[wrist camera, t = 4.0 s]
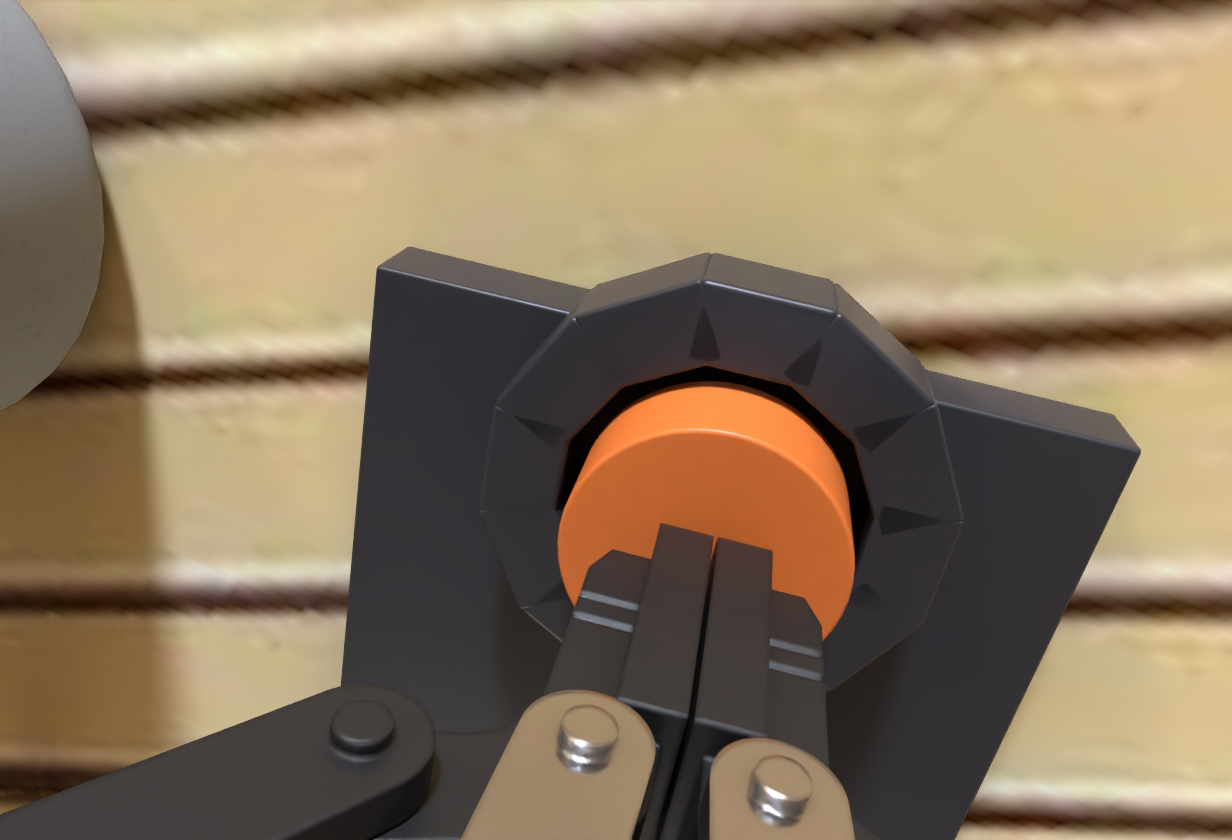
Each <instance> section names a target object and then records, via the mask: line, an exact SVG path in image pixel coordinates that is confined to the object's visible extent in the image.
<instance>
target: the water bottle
mask: <svg viewBox="0 0 1232 840" xmlns="http://www.w3.org/2000/svg"><path fill="white" fill-rule="evenodd" d="M104 238H105V235H104V219H103V202H102V186H101V182H100V177H99V173H98V169H97V165H96V161H95V156H94V152H93V148H92V144H91V139H90V135H89V131H88V129H87V126H86V124H85V121H84V119H83V116H82V114H81V112H80V109H79V107H78V104H77V102H76V99H75V97H74V94H73V92H72V90H71V87H70V85H69V82H68V80H67V77H66V75H65V73H64V72H63V70H62V68H61V67H60V65H59V63H58V62H57V60H56V58H55V57H54V55H53V53H52V51H51V50H50V48H49V46H48V45H47V43H46V41H45V40H44V38H43V36H42V35H41V33H40V31H39V30H38V28H37V26H36V24H35V23H34V21H33V20H32V19H31V17H30V16H29V15H28V14H27V12H26V11H25V10H24V9H23V8H22V6H21V5H20V4H19V3H18V1H17V0H0V410H2V409H4V408H6V407H8V406H10V405H12V404H14V403H16V402H18V401H19V400H20V399H21V398H23V397H24V396H25V395H26V394H28V393H29V392H30V391H31V390H32V389H34V388H35V387H36V386H37V385H38V384H40V383H41V382H42V381H43V380H44V379H46V378H47V377H48V376H49V375H50V374H51V373H52V372H53V371H54V370H55V369H56V368H57V367H58V366H59V364H60V363H61V361H62V360H63V359H64V357H65V356H66V354H67V353H68V351H69V350H70V349H71V347H72V346H73V344H74V343H75V341H76V340H77V338H78V337H79V336H80V334H81V332H82V329H83V326H84V324H85V321H86V318H87V316H88V313H89V310H90V307H91V305H92V302H93V299H94V297H95V294H96V291H97V287H98V282H99V275H100V268H101V260H102V253H103V245H104Z"/></svg>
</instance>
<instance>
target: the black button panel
mask: <svg viewBox="0 0 1232 840" xmlns="http://www.w3.org/2000/svg"><path fill="white" fill-rule="evenodd" d="M700 381H716V382H728V383H734V384H739V385H745V386H748V387H751V388H754V389H758V390H761V391H763V392H766V393H768V394H770V395H772V396H775V397H777V398H779V399H781V400H782V401H784V402H786V403H787V404H789V405H791V406H792V407H794V408H795V409H797V410H798V411H799V412H800V413H802V414H803V415H804V416H805V417H807V418H808V419H809V420H810V421H811V422H812V423H813V424H814V425H815V426H816V427H817V428H818V429H819V430H820V431H821V433H822V434H823V435H824V437H825V438H826V440H827V441H828V442H829V444H830V445H831V446H832V448H833V450H834V452H835V454H836V456H837V458H838V460H839V462H840V464H841V467H842V470H843V473H844V476H845V480H846V485H847V490H848V496H849V506H850V515H851V524H852V533H853V542H854V554H855V573H854V582H853V587H852V590H851V594H850V598H849V601H848V603H847V605H846V608H845V610H844V612H843V614H842V616H841V618H840V619H839V621H838V623H837V624H836V626H835V627H834V629H833V630H832V631H831V633H830V634H829V635H828V636H827V637H826V638H825V639H824V641H823V657H822V659H824V681H823V682H824V683H825V697H826V717H827V737H828V757H829V769H830V771H831V772H832V773H833V774H834V775H835V776H836V777H837V779H838V780H839V782H840V783H841V785H842V786H843V789H844V791H845V793H846V795H847V798H848V802H849V806H850V812H851V815H852V816H853V817H854V818H855V819H856V820H857V821H858V822H859V823H860V824H861V825H862V826H863V827H864V828H865V829H867V830H868V831H869V832H871V833H872V834H873V835H875V836H876V837H877V838H879V839H880V840H955V838H956V836H957V834H958V832H959V830H960V827H961V825H962V823H963V821H964V819H965V817H966V815H967V813H968V811H969V809H970V807H971V805H972V803H973V800H974V798H975V796H976V794H977V792H978V790H979V788H980V786H981V784H982V782H983V780H984V778H985V776H986V773H987V771H988V769H989V767H990V765H991V763H992V761H993V759H994V757H995V755H996V753H997V751H998V749H999V746H1000V744H1001V742H1002V740H1003V738H1004V736H1005V734H1006V732H1007V730H1008V728H1009V726H1010V724H1011V722H1012V719H1013V717H1014V715H1015V713H1016V711H1017V709H1018V707H1019V705H1020V703H1021V701H1022V699H1023V697H1024V695H1025V692H1026V690H1027V688H1028V686H1029V684H1030V682H1031V680H1032V678H1033V676H1034V674H1035V672H1036V670H1037V668H1038V665H1039V663H1040V661H1041V659H1042V657H1043V655H1044V653H1045V651H1046V649H1047V647H1048V645H1049V643H1050V641H1051V638H1052V636H1053V634H1054V632H1055V630H1056V628H1057V626H1058V624H1059V622H1060V620H1061V618H1062V616H1063V614H1064V611H1065V609H1066V607H1067V605H1068V603H1069V601H1070V599H1071V597H1072V595H1073V593H1074V591H1075V589H1076V587H1077V584H1078V582H1079V580H1080V578H1081V576H1082V574H1083V572H1084V570H1085V568H1086V566H1087V564H1088V562H1089V560H1090V557H1091V555H1092V553H1093V551H1094V549H1095V547H1096V545H1097V543H1098V541H1099V539H1100V537H1101V535H1102V533H1103V531H1104V528H1105V526H1106V524H1107V522H1108V520H1109V518H1110V516H1111V514H1112V512H1113V510H1114V508H1115V506H1116V504H1117V501H1118V499H1119V497H1120V495H1121V493H1122V491H1123V489H1124V487H1125V485H1126V483H1127V481H1128V479H1129V477H1130V474H1131V472H1132V470H1133V468H1134V466H1135V464H1136V462H1137V460H1138V458H1139V456H1140V453H1141V450H1140V448H1139V447H1138V446H1137V444H1136V443H1135V442H1134V440H1133V439H1132V438H1131V437H1130V435H1129V434H1128V433H1127V431H1126V430H1125V429H1124V427H1123V426H1122V425H1121V423H1120V422H1119V421H1118V420H1117V418H1116V417H1115V416H1114V415H1112V414H1108V413H1104V412H1099V411H1095V410H1091V409H1087V408H1083V407H1079V406H1074V405H1070V404H1066V403H1062V402H1058V401H1053V400H1049V399H1045V398H1041V397H1037V396H1032V395H1028V394H1024V393H1020V392H1016V391H1012V390H1007V389H1003V388H999V387H995V386H991V385H986V384H982V383H978V382H974V381H970V380H965V379H961V378H957V377H953V376H949V375H945V374H940V373H936V372H932V371H928V370H925V368H924V367H923V366H922V365H921V363H920V361H919V360H918V359H917V358H916V357H915V356H914V355H913V354H912V353H911V352H910V351H908V350H907V349H906V348H905V347H904V346H903V345H902V344H901V343H900V342H899V341H898V340H897V339H896V338H895V337H894V336H893V335H892V334H891V333H889V332H888V331H887V330H886V329H885V328H884V327H883V326H882V325H881V324H880V323H879V322H878V321H877V320H876V319H875V318H874V317H873V316H872V315H870V314H869V313H868V312H867V311H866V310H865V309H864V308H863V307H862V306H861V305H860V304H859V303H858V302H857V301H856V300H855V299H854V298H853V297H851V296H850V295H849V294H848V293H847V292H846V291H845V290H844V289H843V288H842V287H841V286H840V285H838V284H836V283H834V284H833V282H832V281H830V280H829V279H825V278H820V277H816V276H812V275H808V274H803V273H799V272H795V271H791V270H786V269H782V268H778V267H773V266H769V265H765V264H761V263H756V262H752V261H748V260H743V259H739V258H735V257H731V256H726V255H722V254H718V253H714V254H710V253H704V254H700V255H697V256H694V257H690V258H687V259H683V260H680V261H677V262H673V263H670V264H666V265H663V266H660V267H656V268H653V269H649V270H646V271H643V272H639V273H636V274H632V275H629V276H626V277H622V278H619V279H616V280H612V281H609V282H605V283H602V284H599V285H597V286H596V287H595V288H593V289H591V290H589V289H585V288H580V287H576V286H572V285H568V284H564V283H559V282H555V281H551V280H547V279H543V278H539V277H534V276H530V275H526V274H522V273H518V272H513V271H509V270H505V269H501V268H497V267H492V266H488V265H484V264H480V263H476V262H472V261H467V260H463V259H459V258H455V257H451V256H446V255H442V254H438V253H434V252H430V251H425V250H421V249H417V248H413V247H407V248H406V249H404V250H402V251H401V252H399V253H398V254H396V255H395V256H393V257H392V258H390V259H388V260H387V261H385V262H384V263H382V264H381V265H379V266H378V268H377V273H376V285H375V296H374V308H373V319H372V331H371V343H370V354H369V366H368V377H367V389H366V400H365V412H364V424H363V435H362V447H361V458H360V470H359V481H358V493H357V505H356V516H355V528H354V539H353V551H352V562H351V574H350V586H349V597H348V609H347V620H346V632H345V643H344V655H343V667H342V678H341V686H346V685H354V684H373V685H380V686H386V687H390V688H393V689H396V690H399V691H401V692H403V693H406V694H408V695H410V696H411V697H412V698H414V699H415V700H417V701H418V702H419V703H420V704H421V705H423V706H424V707H425V708H426V710H427V711H428V713H429V714H430V715H431V717H432V720H433V722H434V724H435V729H436V732H478V731H487V730H493V729H498V728H501V727H504V726H508V725H510V724H512V723H514V722H517V721H518V720H520V719H521V717H522V715H523V714H524V712H525V710H526V709H527V708H528V707H529V706H530V705H531V704H532V703H533V702H535V701H536V700H538V699H540V698H541V697H542V696H543V694H544V692H545V689H546V686H547V683H548V680H549V678H550V675H551V672H552V669H553V666H554V664H555V661H556V658H557V655H558V652H559V650H560V647H561V644H562V641H563V638H564V636H565V633H566V630H567V627H568V624H569V622H570V619H571V617H572V614H573V610H574V606H573V604H572V602H571V600H570V598H569V596H568V594H567V592H566V589H565V586H564V583H563V580H562V577H561V573H560V567H559V562H558V547H557V541H558V532H559V525H560V521H561V517H562V514H563V510H564V508H565V506H566V503H567V501H568V499H569V497H570V494H571V492H572V490H573V488H574V486H575V483H576V481H577V479H578V477H579V474H580V472H581V470H582V468H583V466H584V463H585V461H586V459H587V457H588V455H589V452H590V450H591V448H592V446H593V444H594V442H595V441H596V439H597V437H598V436H599V434H600V433H601V431H602V430H603V429H604V428H605V426H606V425H607V424H608V423H609V422H610V421H611V419H612V418H614V417H615V416H616V415H617V414H618V413H619V412H620V411H622V410H623V409H624V408H625V407H627V406H628V405H630V404H631V403H633V402H634V401H636V400H637V399H639V398H641V397H643V396H645V395H647V394H649V393H652V392H654V391H656V390H659V389H662V388H666V387H669V386H672V385H677V384H682V383H688V382H700ZM655 833H656V832H655ZM654 839H655V835H654ZM654 839H653V840H654Z"/></svg>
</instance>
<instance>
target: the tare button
mask: <svg viewBox="0 0 1232 840" xmlns="http://www.w3.org/2000/svg"><path fill="white" fill-rule="evenodd" d="M660 523H665V524H669V525H673V526H677V527H681V528H685V529H689V530H692V531H696V532H700V533H704V534H708V535H712V536H714V539H713V547H712V554H713V550H714V547H715V544H716V541H717V538H718V537H721V538H725V539H729V540H733V541H737V542H741V543H745V544H749V545H753V546H757V547H761V548H765V549H769V550H772V551H773V568H772V590H776V591H780V592H784V593H788V594H792V595H796V596H800V597H804V598H805V599H806V601H807V602H808V604H809V606H810V607H811V609H812V611H813V612H814V614H815V615H816V617H817V619H818V620H819V622H820V624H821V625H822V637H823V641H824V639H825V638H826V637H827V636H828V635H829V634H830V633H831V631H832V630H833V629H834V627H835V626H836V624H837V623H838V621H839V619H840V618H841V616H842V614H843V612H844V610H845V608H846V605H847V603H848V601H849V598H850V594H851V590H852V587H853V582H854V573H855V554H854V542H853V533H852V524H851V515H850V506H849V496H848V490H847V485H846V480H845V476H844V473H843V470H842V467H841V464H840V462H839V460H838V458H837V456H836V454H835V452H834V450H833V448H832V446H831V445H830V444H829V442H828V441H827V440H826V438H825V437H824V435H823V434H822V433H821V431H820V430H819V429H818V428H817V427H816V426H815V425H814V424H813V423H812V422H811V421H810V420H809V419H808V418H807V417H805V416H804V415H803V414H802V413H800V412H799V411H798V410H797V409H795V408H794V407H792V406H791V405H789V404H787V403H786V402H784V401H782V400H781V399H779V398H777V397H775V396H772V395H770V394H768V393H766V392H763V391H761V390H758V389H754V388H751V387H748V386H745V385H739V384H734V383H728V382H716V381H700V382H688V383H682V384H677V385H672V386H669V387H666V388H662V389H659V390H656V391H654V392H652V393H649V394H647V395H645V396H643V397H641V398H639V399H637V400H636V401H634V402H633V403H631V404H630V405H628V406H627V407H625V408H624V409H623V410H622V411H620V412H619V413H618V414H617V415H616V416H615V417H614V418H612V419H611V421H610V422H609V423H608V424H607V425H606V426H605V428H604V429H603V430H602V431H601V433H600V434H599V436H598V437H597V439H596V441H595V442H594V444H593V446H592V448H591V450H590V452H589V455H588V457H587V459H586V461H585V463H584V466H583V468H582V470H581V472H580V474H579V477H578V479H577V481H576V483H575V486H574V488H573V490H572V492H571V494H570V497H569V499H568V501H567V503H566V506H565V508H564V510H563V514H562V517H561V521H560V525H559V532H558V541H557V547H558V562H559V567H560V573H561V577H562V580H563V583H564V586H565V589H566V592H567V594H568V596H569V598H570V600H571V602H572V604H573V606H574V608H575V605H576V602H577V599H578V596H579V595H580V591H581V588H582V585H583V582H584V580H585V577H586V574H587V571H588V568H589V566H591V565H592V564H593V563H595V562H596V561H597V560H599V559H600V558H601V557H603V556H604V555H605V554H607V553H608V552H609V551H611V550H612V549H614V550H618V551H622V552H626V553H630V554H633V555H637V556H641V557H645V558H649V559H652V555H653V551H654V547H655V543H656V539H657V535H658V531H659V527H660ZM712 554H711V557H712Z"/></svg>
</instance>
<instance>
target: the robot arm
mask: <svg viewBox="0 0 1232 840" xmlns="http://www.w3.org/2000/svg"><path fill="white" fill-rule="evenodd" d="M713 539H714V536H712V535H708V534H704V533H700V532H696V531H692V530H689V529H685V528H681V527H677V526H673V525H669V524H665V523H660V527H659V531H658V535H657V539H656V543H655V547H654V551H653V555H652V559H649V558H645V557H641V556H637V555H633V554H630V553H626V552H622V551H618V550H614V549H612V550H611V551H609V552H608V553H607V554H605V555H604V556H603V557H601V558H600V559H599V560H597V561H596V562H595V563H593V564H592V565H591V566H589V568H588V571H587V574H586V577H585V580H584V582H583V585H582V588H581V591H580V595H579V596H578V599H577V602H576V605H575V608H574V610H573V614H572V617H571V619H570V622H569V624H568V627H567V630H566V633H565V636H564V638H563V641H562V644H561V647H560V650H559V652H558V655H557V658H556V661H555V664H554V666H553V669H552V672H551V675H550V678H549V680H548V683H547V686H546V689H545V692H544V694H543V696H542V697H541V698H540V699H538V700H536V701H535V702H533V703H532V704H531V705H530V706H529V707H528V708H527V709H526V710H525V712H524V714H523V715H522V717H521V719H520V720H518V721H517V722H514V723H512V724H510V725H508V726H504V727H501V728H498V729H493V730H487V731H478V732H436V729H435V724H434V722H433V720H432V717H431V715H430V714H429V713H428V711H427V710H426V708H425V707H424V706H423V705H421V704H420V703H419V702H418V701H417V700H415V699H414V698H412V697H411V696H410V695H408V694H406V693H403V692H401V691H399V690H396V689H393V688H390V687H386V686H380V685H373V684H354V685H346V686H341V687H337V688H333V689H330V690H327V691H324V692H322V693H319V694H316V695H314V696H311V697H308V698H306V699H303V700H301V701H298V702H295V703H293V704H290V705H287V706H285V707H282V708H279V709H277V710H274V711H272V712H269V713H266V714H264V715H261V716H258V717H256V718H253V719H250V720H248V721H245V722H243V723H240V724H237V725H235V726H232V727H229V728H227V729H224V730H222V731H219V732H216V733H214V734H211V735H208V736H206V737H203V738H200V739H198V740H195V741H193V742H190V743H187V744H185V745H182V746H179V747H177V748H174V749H172V750H169V751H166V752H164V753H161V754H158V755H156V756H153V757H150V758H148V759H145V760H143V761H140V762H137V763H135V764H132V765H129V766H127V767H124V768H121V769H119V770H116V771H114V772H111V773H108V774H106V775H103V776H100V777H98V778H95V779H93V780H90V781H87V782H85V783H82V784H79V785H77V786H74V787H71V788H69V789H66V790H64V791H61V792H58V793H56V794H53V795H50V796H48V797H45V798H42V799H40V800H37V801H35V802H32V803H29V804H27V805H24V806H21V807H19V808H16V809H14V810H11V811H8V812H6V813H3V814H0V840H653V839H654V835H655V839H654V840H880V839H879V838H877V837H876V836H875V835H873V834H872V833H871V832H869V831H868V830H867V829H865V828H864V827H863V826H862V825H861V824H860V823H859V822H858V821H857V820H856V819H855V818H854V817H853V816H852V815H851V812H850V806H849V802H848V798H847V795H846V793H845V791H844V789H843V786H842V785H841V783H840V782H839V780H838V779H837V777H836V776H835V775H834V774H833V773H832V772H831V771H830V769H829V757H828V737H827V717H826V697H825V683H824V682H823V681H824V659H822V657H823V637H822V625H821V624H820V622H819V620H818V619H817V617H816V615H815V614H814V612H813V611H812V609H811V607H810V606H809V604H808V602H807V601H806V599H805V598H804V597H800V596H796V595H792V594H788V593H784V592H780V591H776V590H772V568H773V551H772V550H769V549H765V548H761V547H757V546H753V545H749V544H745V543H741V542H737V541H733V540H729V539H725V538H721V537H718V538H717V541H716V544H715V547H714V550H713V554H712V547H713ZM711 554H712V557H711ZM655 832H656V833H655Z"/></svg>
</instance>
